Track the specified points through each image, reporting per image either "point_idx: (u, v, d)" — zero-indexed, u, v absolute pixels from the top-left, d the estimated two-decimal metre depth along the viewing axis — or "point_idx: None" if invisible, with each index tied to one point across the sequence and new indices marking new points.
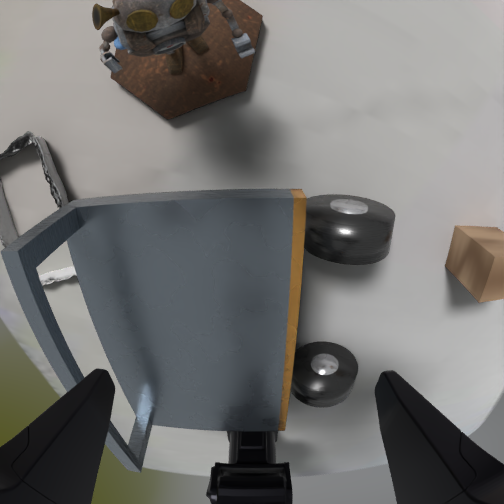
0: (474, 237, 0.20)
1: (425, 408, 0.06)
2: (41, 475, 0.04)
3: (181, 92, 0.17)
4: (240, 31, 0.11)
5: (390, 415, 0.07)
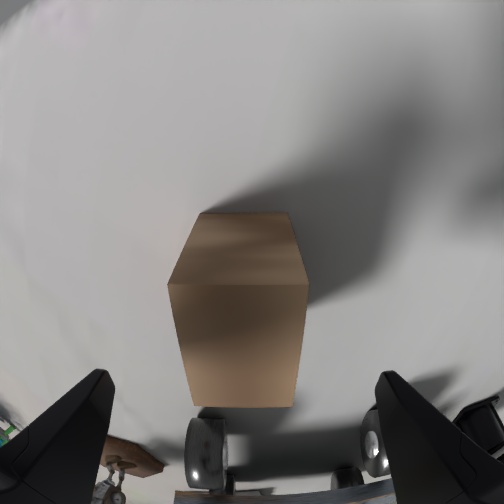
0: None
1: (425, 408, 0.06)
2: (41, 475, 0.04)
3: (145, 466, 0.25)
4: (101, 484, 0.19)
5: (390, 415, 0.07)
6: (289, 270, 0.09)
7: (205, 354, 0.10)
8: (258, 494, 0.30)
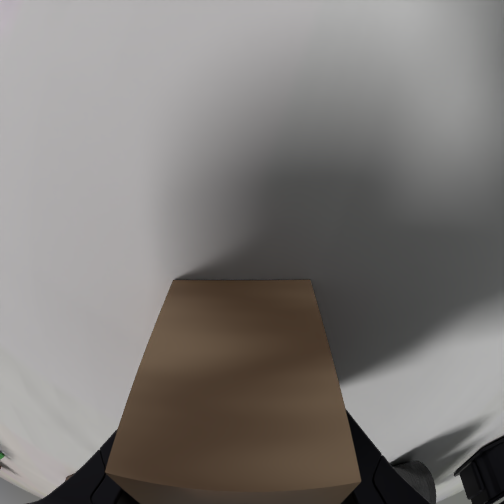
0: None
1: None
2: None
3: None
4: None
5: None
6: (325, 446, 0.04)
7: None
8: None
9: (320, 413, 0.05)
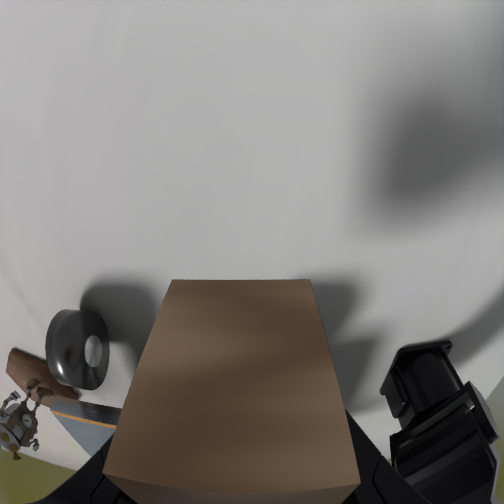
0: None
1: None
2: None
3: (60, 393, 0.26)
4: (10, 397, 0.20)
5: None
6: (324, 447, 0.04)
7: None
8: None
9: (319, 414, 0.05)
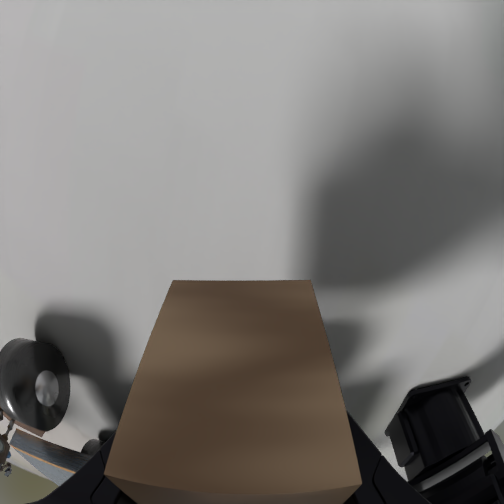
0: None
1: None
2: None
3: None
4: None
5: None
6: (325, 448, 0.04)
7: None
8: None
9: (320, 415, 0.05)
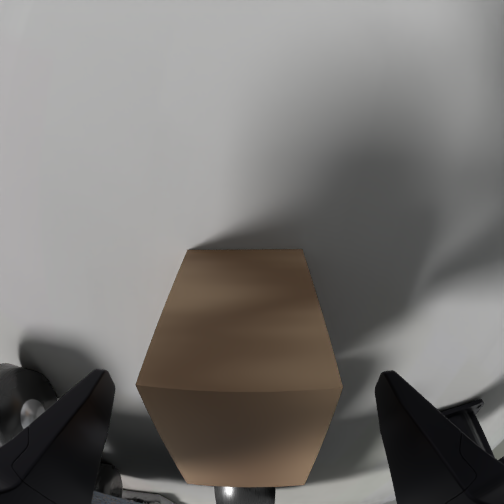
0: None
1: (425, 408, 0.06)
2: (41, 475, 0.04)
3: None
4: None
5: (390, 415, 0.07)
6: (312, 360, 0.06)
7: (197, 449, 0.06)
8: (158, 498, 0.24)
9: (308, 337, 0.06)
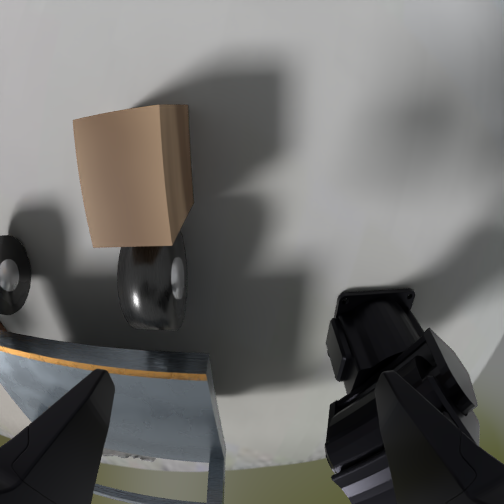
0: None
1: (425, 408, 0.06)
2: (41, 475, 0.04)
3: None
4: None
5: (390, 415, 0.07)
6: None
7: (95, 179, 0.11)
8: None
9: None
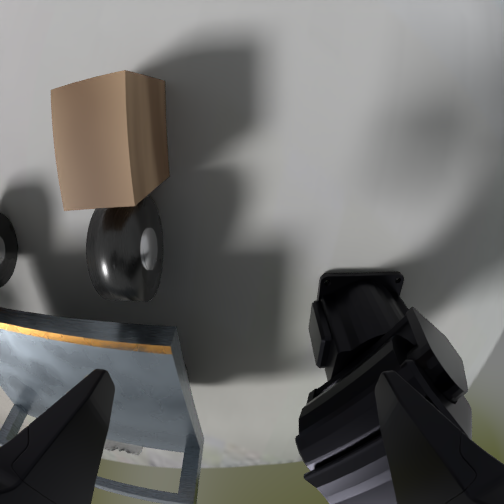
0: None
1: (425, 408, 0.06)
2: (41, 475, 0.04)
3: None
4: None
5: (390, 415, 0.07)
6: None
7: (67, 143, 0.11)
8: None
9: None
